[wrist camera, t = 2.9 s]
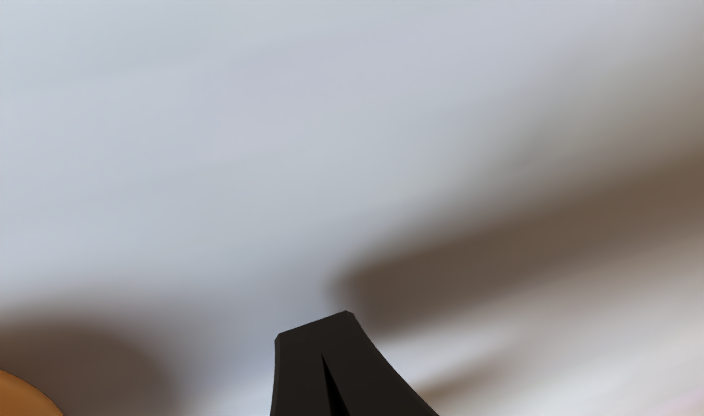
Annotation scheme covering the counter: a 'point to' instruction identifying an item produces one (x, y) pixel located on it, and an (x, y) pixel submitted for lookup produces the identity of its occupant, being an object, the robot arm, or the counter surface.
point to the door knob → (23, 398)
